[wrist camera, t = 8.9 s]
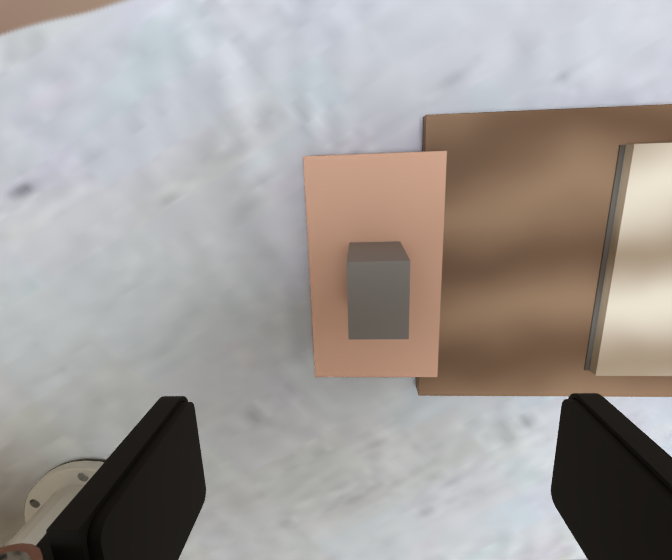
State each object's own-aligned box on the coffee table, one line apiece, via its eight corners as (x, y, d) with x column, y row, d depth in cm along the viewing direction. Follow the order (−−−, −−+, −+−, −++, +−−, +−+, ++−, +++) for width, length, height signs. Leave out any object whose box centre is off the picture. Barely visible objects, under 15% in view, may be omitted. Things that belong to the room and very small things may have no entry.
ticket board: (774, 387, 27) (806, 404, 25) (416, 386, 28) (420, 402, 26) (864, 98, 22) (913, 91, 20) (423, 117, 23) (428, 113, 21)
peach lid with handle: (435, 371, 26) (454, 425, 21) (316, 370, 27) (304, 424, 21) (443, 151, 22) (471, 146, 17) (305, 156, 23) (287, 153, 17)
